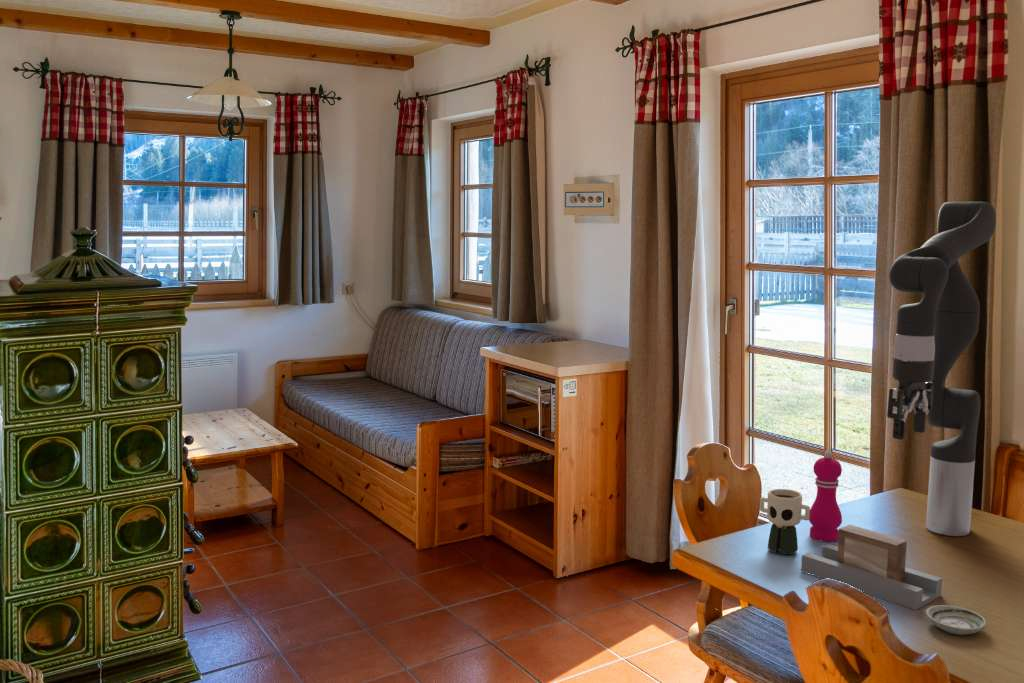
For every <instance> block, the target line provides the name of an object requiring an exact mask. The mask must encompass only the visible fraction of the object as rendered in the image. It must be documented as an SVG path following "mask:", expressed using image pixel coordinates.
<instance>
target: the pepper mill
mask: <svg viewBox="0 0 1024 683" xmlns="http://www.w3.org/2000/svg"><path fill="white" fill-rule="evenodd" d="M823 455H824V457H820V458H818V459H817V460H816V461H815V462H814V464H813V473H814V474H815V476H816V477H815V479H814V480H815V483H814V484H815V485H816V489H817V490H816V497H815V500H814V501H813V503H812V505H811V507H810V518H809V520H808V522H809V523H810V524H811V527H810V528H809V537H811V538H812V539H814V540H816V541H821V542H828V543H829V542H836V541H838V537H839V527H840V526H841V524H842V523H843V515H842V512H841V509H840V507H839V504H838V501H837V497H836V496H837V488H838V487H839V479H838V478H840V477H841V474H842V472H843V471H842V470H843V469H842V464H841V463H840V462H839V461H838V460H837V459H836V458H833V452H831V451H829V450H826V451H825V452H824V454H823Z"/></svg>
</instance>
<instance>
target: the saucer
mask: <svg viewBox="0 0 1024 683" xmlns="http://www.w3.org/2000/svg"><path fill="white" fill-rule="evenodd" d="M925 616H926V617H927V619H928V620H930V622H931V623H932V624H933V625H934V626H936V627H937V628H939V629H941V630H942V631H944V632H946V633H949V634H951V635H959V636H963V635H964V636H965V635H971V634H975V633H978V632H980V631H982V630H984V629H985V628H986V626H987V620H986V619H985V618H984V617H983V616H982V615H981V614H979V613H978V612H975V611H973V610H970V609H967V608H964V607H960V606H956V605H945V604H940V605H932V606H930V607H928V608H927V609H926V610H925Z"/></svg>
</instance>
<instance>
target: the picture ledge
mask: <svg viewBox="0 0 1024 683" xmlns="http://www.w3.org/2000/svg"><path fill="white" fill-rule="evenodd" d="M821 554H822V555H821V556H820V555H816V554H813V553H810V552H805V553H804V554H802V555H801V566H800V567H801V570H800V572H801V571H804V572H807V573H810V574H814V575H816V576H819V577H820V578H819V577H818V578H819V579H822V578H830V579H834V580H837V581H841V582H844V583H847V584H849V585H851V586H853V587H855V588H857V589H860V590H862V591H864V592H866V593H865V594H867V595H870V596H873V595H874V596H873V597H875V598H876V597H877V598H879V599H883V600H885V601H888V602H892V603H894V604H896V605H901V606H903V607H906V608H909V609H912V610H915V611H917V610H919V609H921V608H922V607H924V606H925V605H927V604H929V603H931V602H933V601H935V600H936V599H938V598H940V597H942V586H943V578H942V577H940V576H936V575H933V574H929V573H926V572H923V571H920V570H916V569H913V568H909V567H906V566H905V578H904V583H903V582H900V581H897V580H894V579H890V578H887V577H884V576H881V575H878V574H874V573H871V572H868V571H865V570H862V569H859V568H855V567H852V566H849V565H846V564H843V563H840V562H837V557H838V545H837V546H836V545H833V544H830V543H828V544H825V545H823V546H822V552H821ZM804 572H803V573H804ZM807 573H806V574H807ZM810 574H809V575H810ZM816 576H815V577H816ZM864 592H863V593H864Z"/></svg>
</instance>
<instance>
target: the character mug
mask: <svg viewBox="0 0 1024 683" xmlns="http://www.w3.org/2000/svg"><path fill="white" fill-rule="evenodd" d="M765 503H767V508H765ZM810 509H811V507H810V506H809V505H808V504H807V505H806V504H803V494H802V493H801V492H799V491H797V490H793V489H787V488H776V489H775V488H774V489H770V490H768V492H767V497H760V499H759V511H760V512H762V513H766V517H767V520H768V522H770V523H772V524H771V527H770V531H769V537H768V543H767V549H768V550H769V551H771V552H773V553H777V550H779V554H781V555H783V554H784V555H789V554H790V555H791V554H794V553H796V552H797V551H798V548H799V547H798V546H799V544H798V533H797V528H796V526H797V525H799V524H800V523H801V520H803V521H809V518H810ZM802 510H804V515H803V514H802Z"/></svg>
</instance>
